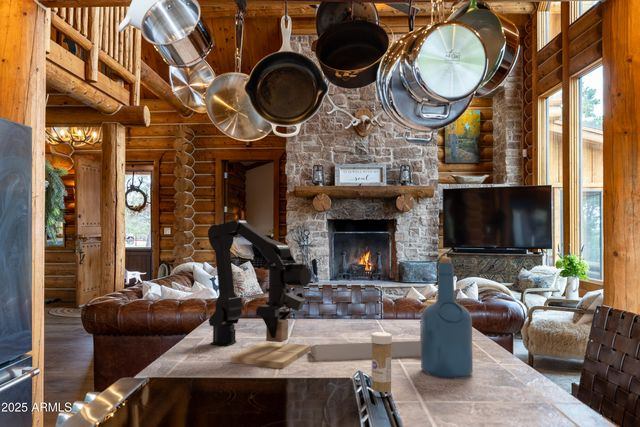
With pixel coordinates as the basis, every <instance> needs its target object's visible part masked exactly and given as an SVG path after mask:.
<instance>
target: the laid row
mask: <svg viewBox="0 0 640 427" xmlns="http://www.w3.org/2000/svg"><path fill="white" fill-rule="evenodd" d="M284 344H285V345H283V346H281V347H279V348H277V349H275V350H273V351H272V352H270V353H268V354H266V355H264V356H262V357H260V358H258V359H256V365H255V366H257V367H265V368H274V369H275V368H276V369H285V368H286V367H288V366H290V365H291V364H292V363H293V362H295V361H297V360H299V359H300V358H301V357H303V356H305V355H306V354H307V353H309V352H311V351H310V347H311V346H312V345H311V344H310V345H309V344H301V343H300V344H299V343H289V342H288V343H284Z"/></svg>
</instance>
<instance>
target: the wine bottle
mask: <svg viewBox="0 0 640 427" xmlns="http://www.w3.org/2000/svg"><path fill="white" fill-rule="evenodd" d="M451 261H452V258H451V257H440V261H439V262H438V268H437V274H436V275H437V276H438V278H437V294H438V299H437V301H436V302H435V303H433V304H431V305H429V306H427V307H426V308H425V309H424V311H423V313H422V315H421V314H420V315H421V316H420V321H421V357H420V364H421V365H420V366H421V367H420V368H421V370H422V372H423V373H425V374H427V375H430V376H433V377H435V378H436V377H437V378H440V379H442V378H443V379H451V380H453V379H464V378H467V377H470V376H472V374H473V371H474V370H473V367H474V366H473V318H472V315H471V313H470V312H469V310H468V309H467V308H466V307H464V306H463V305H461V304H459V303H458V302H457V301H456V299H455V285H454V284H455V281H454V279H455V278H454V276H455V272H454V265H453V264H454V263H453V262H451Z"/></svg>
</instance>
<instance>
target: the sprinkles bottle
mask: <svg viewBox="0 0 640 427" xmlns="http://www.w3.org/2000/svg"><path fill="white" fill-rule="evenodd" d="M392 335H393V334H392V333H389V332H384V331H376V332H372V333H371V339H370V340H371V341H370V343H372V359H371V390H372V389H373V390H375V391H377V392H387V391H390V393H391V395H392V358H391V343H392V342H393V336H392Z"/></svg>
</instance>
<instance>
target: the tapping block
mask: <svg viewBox="0 0 640 427" xmlns="http://www.w3.org/2000/svg"><path fill="white" fill-rule="evenodd" d="M265 326H266V325H265ZM265 330H266V332H265V334H266V335H265V336H266V337H265V339H266V340H265V342H270V343H284V342H285V341H288V339H289V333H288V332H289V319H288V318H287V319H279V320H278V322H277V330H276V336H275V338H272V337H271V335H270V333H269V331H268V328H267V326H266V328H265Z"/></svg>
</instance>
